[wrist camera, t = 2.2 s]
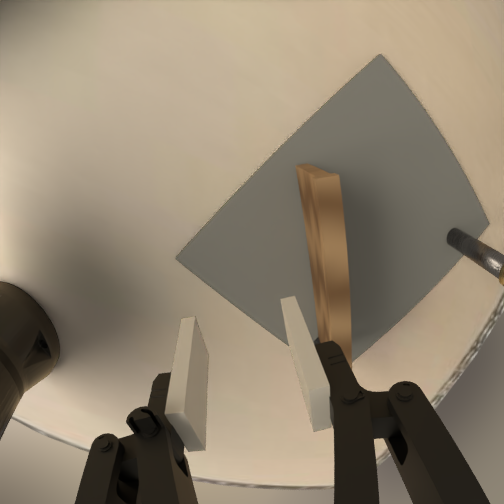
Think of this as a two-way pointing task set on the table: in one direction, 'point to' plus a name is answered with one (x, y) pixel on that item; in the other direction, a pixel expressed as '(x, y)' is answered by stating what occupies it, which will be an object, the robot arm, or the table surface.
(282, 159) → the slate mat
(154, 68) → the table surface
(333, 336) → the gate
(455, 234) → the post
